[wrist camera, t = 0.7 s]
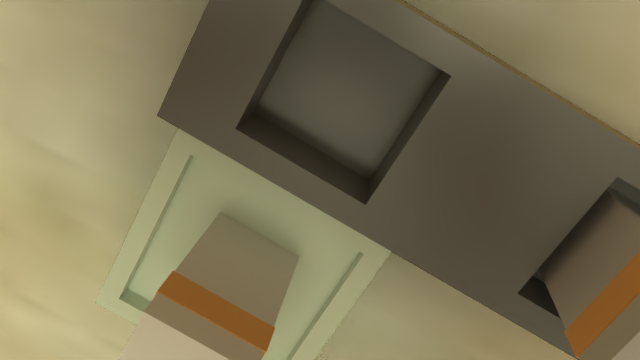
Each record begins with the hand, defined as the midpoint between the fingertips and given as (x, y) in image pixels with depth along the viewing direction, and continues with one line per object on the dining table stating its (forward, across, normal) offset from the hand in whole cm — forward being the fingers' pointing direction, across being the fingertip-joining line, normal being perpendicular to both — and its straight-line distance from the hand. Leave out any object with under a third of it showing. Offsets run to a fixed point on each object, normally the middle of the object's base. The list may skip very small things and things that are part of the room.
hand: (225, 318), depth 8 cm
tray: (+13, +1, +8) cm, 16 cm away
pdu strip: (+13, -6, +2) cm, 15 cm away
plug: (+12, +1, +8) cm, 15 cm away
